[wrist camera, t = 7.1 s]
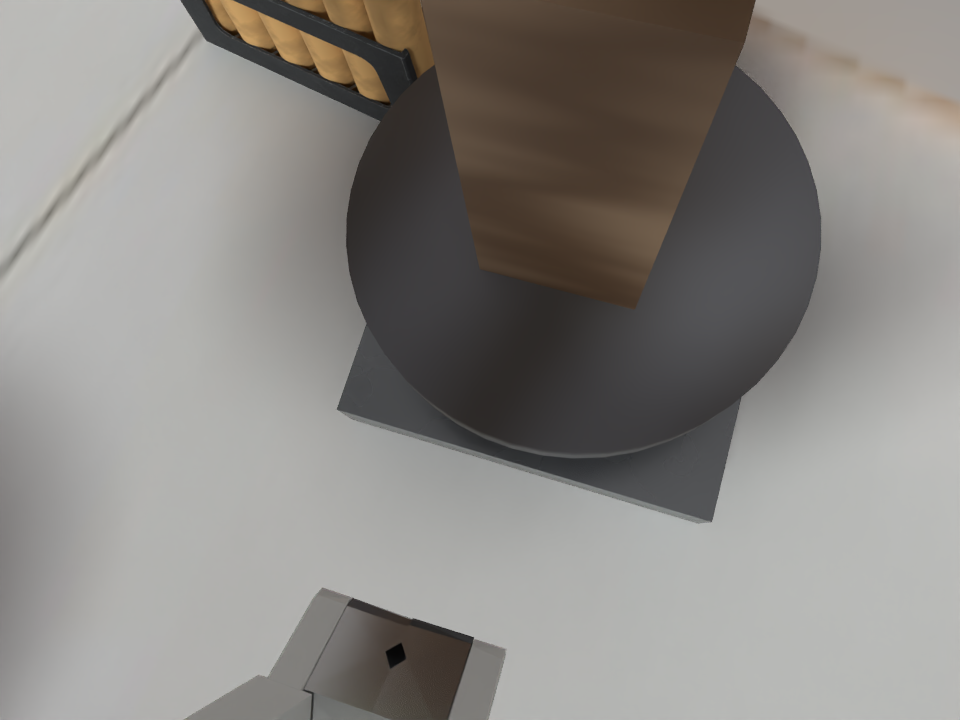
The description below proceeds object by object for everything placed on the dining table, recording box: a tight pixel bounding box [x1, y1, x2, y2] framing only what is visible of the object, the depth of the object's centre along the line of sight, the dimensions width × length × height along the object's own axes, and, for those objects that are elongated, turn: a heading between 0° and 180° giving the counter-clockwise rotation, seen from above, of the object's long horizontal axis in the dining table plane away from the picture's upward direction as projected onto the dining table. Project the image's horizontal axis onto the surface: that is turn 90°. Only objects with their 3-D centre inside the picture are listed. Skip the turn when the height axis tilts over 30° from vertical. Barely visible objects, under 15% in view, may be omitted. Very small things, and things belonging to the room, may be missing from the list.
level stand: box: [337, 324, 741, 523], centre depth 23 cm, size 12×12×5 cm
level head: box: [346, 0, 821, 458], centre depth 14 cm, size 12×12×13 cm
